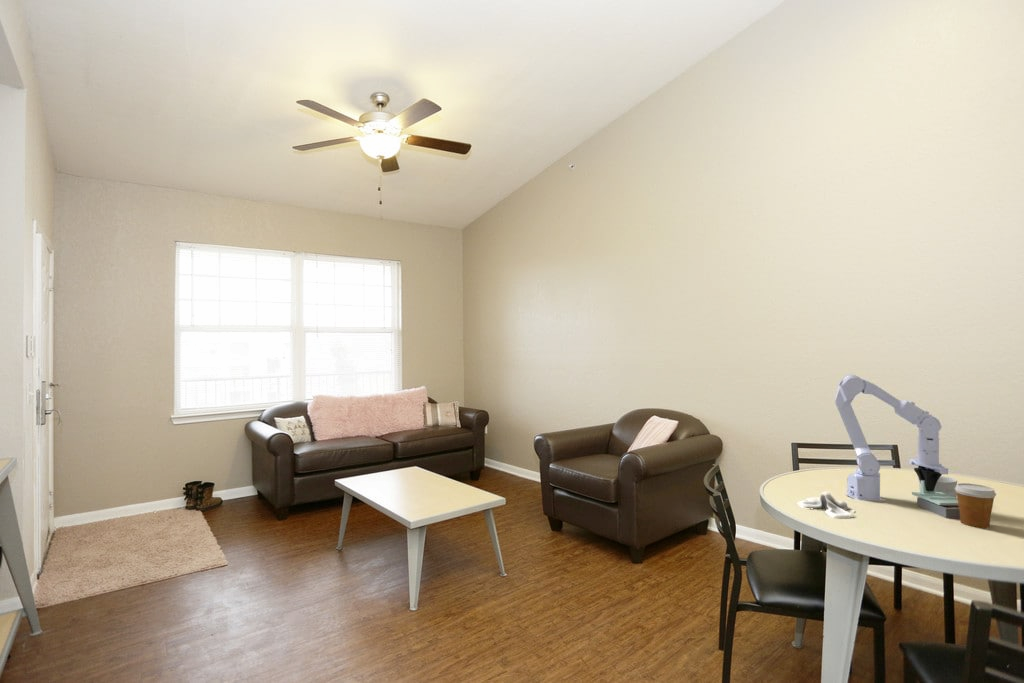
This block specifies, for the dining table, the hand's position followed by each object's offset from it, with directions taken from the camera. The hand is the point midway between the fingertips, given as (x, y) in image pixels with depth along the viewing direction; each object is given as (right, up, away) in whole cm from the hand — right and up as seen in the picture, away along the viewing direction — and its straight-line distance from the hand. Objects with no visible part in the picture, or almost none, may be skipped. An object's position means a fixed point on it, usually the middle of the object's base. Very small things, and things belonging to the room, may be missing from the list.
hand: (927, 490), depth 180 cm
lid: (0, -2, -5) cm, 6 cm away
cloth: (-35, -6, -3) cm, 36 cm away
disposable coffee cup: (-1, -6, -20) cm, 21 cm away
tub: (0, -5, -8) cm, 10 cm away
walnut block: (0, -5, -11) cm, 12 cm away
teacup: (+10, -6, +8) cm, 14 cm away
